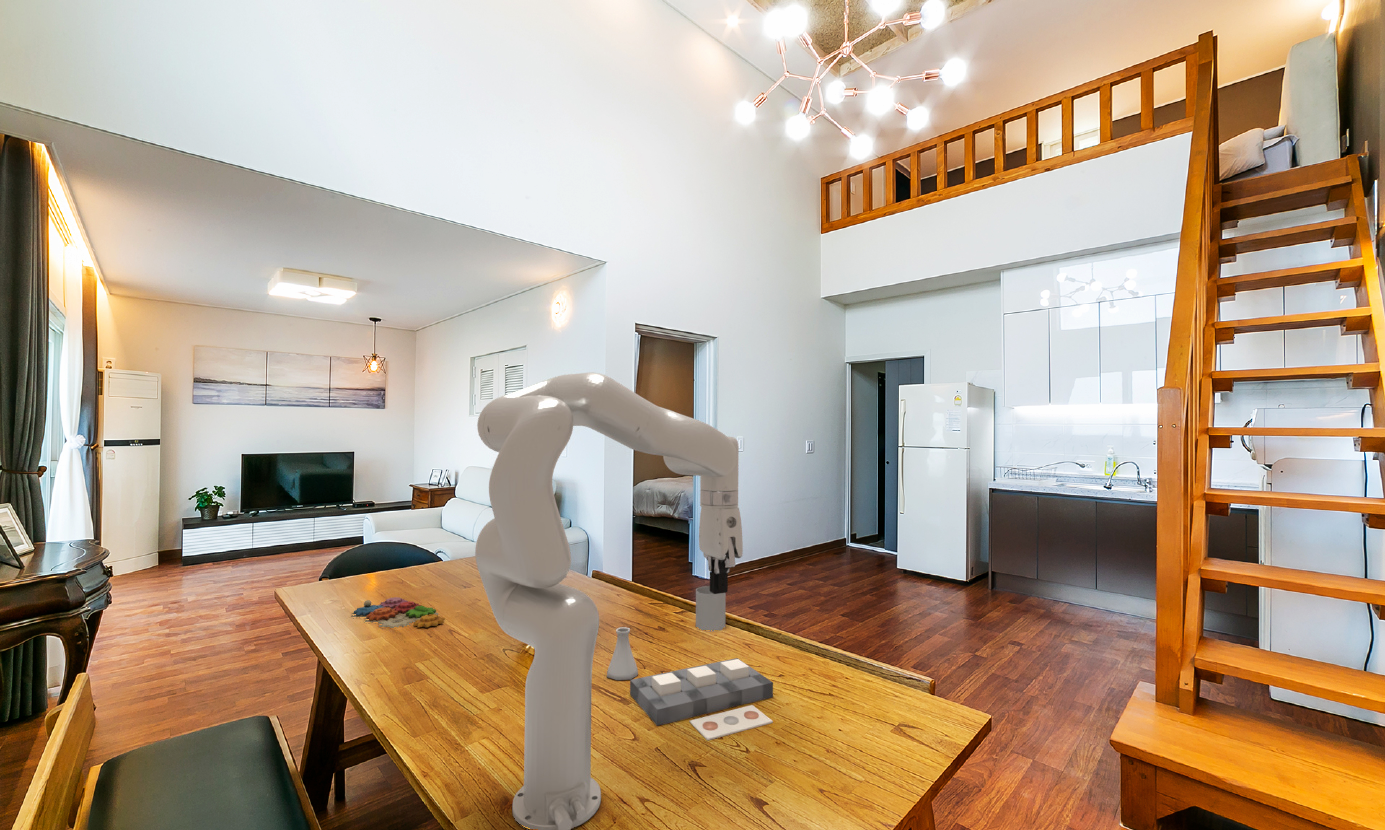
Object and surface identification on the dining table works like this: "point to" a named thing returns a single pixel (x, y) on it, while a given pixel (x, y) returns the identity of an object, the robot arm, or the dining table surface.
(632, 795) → the dining table surface
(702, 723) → the pattern card
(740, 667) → the button
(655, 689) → the button
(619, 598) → the dining table surface
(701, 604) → the cup
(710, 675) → the button
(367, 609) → the gear puzzle
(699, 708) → the button board
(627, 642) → the flask
